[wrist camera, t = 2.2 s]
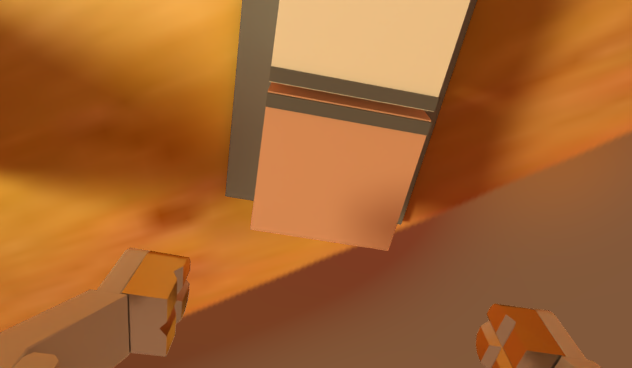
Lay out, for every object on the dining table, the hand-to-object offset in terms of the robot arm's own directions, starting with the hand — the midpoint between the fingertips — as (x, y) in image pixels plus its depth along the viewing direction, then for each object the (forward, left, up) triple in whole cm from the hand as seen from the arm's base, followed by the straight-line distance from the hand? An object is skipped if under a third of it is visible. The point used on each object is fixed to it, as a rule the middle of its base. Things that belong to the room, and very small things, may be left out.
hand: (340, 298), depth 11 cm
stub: (-1, 0, -11) cm, 11 cm away
